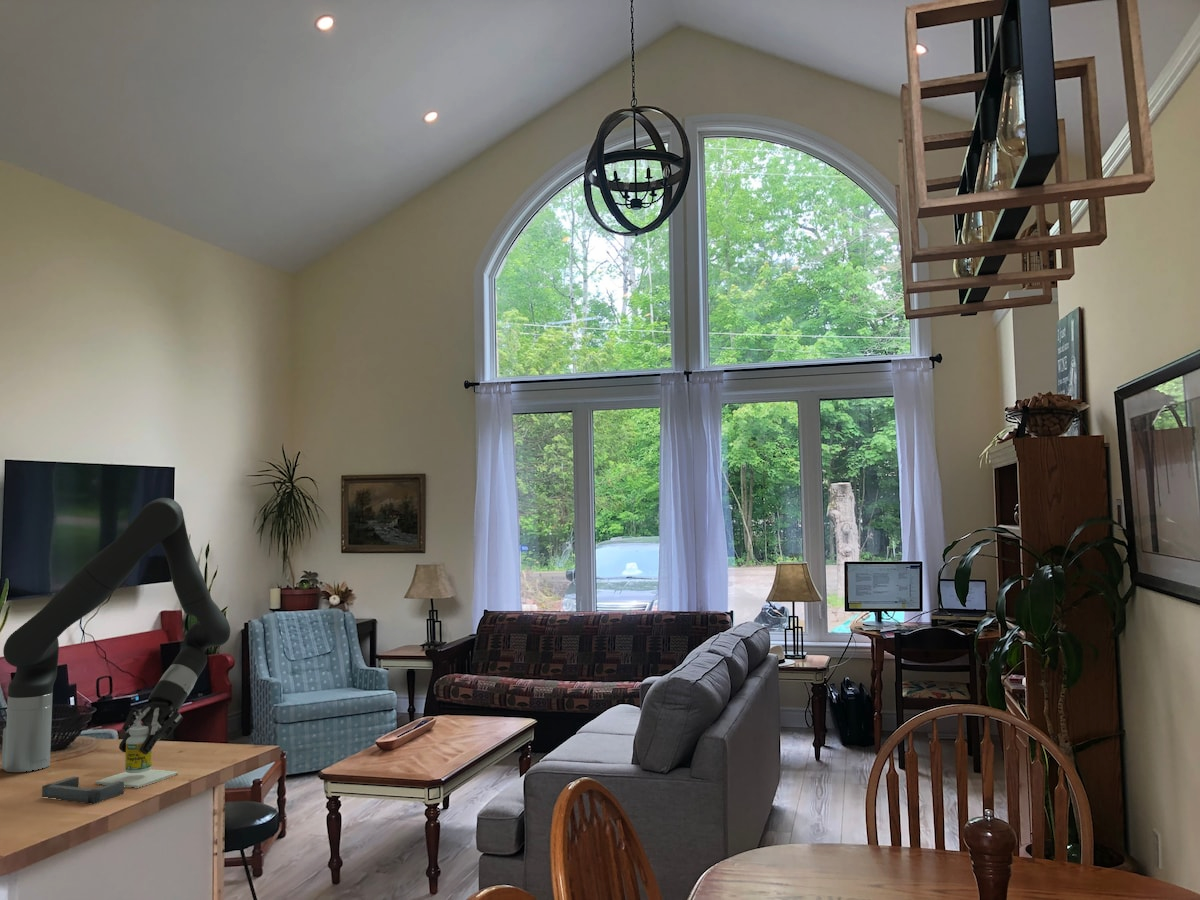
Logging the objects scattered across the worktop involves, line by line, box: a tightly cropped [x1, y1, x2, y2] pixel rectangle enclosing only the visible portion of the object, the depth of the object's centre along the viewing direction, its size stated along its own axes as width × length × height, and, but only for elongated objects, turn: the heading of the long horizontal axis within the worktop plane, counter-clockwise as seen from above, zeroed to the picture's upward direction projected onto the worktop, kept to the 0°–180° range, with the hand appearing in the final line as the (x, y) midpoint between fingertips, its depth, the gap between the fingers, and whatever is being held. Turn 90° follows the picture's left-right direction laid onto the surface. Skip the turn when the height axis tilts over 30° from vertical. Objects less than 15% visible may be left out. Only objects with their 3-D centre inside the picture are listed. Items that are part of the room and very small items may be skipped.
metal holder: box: [41, 776, 125, 805], centre depth 199 cm, size 14×8×2 cm, turn 72°
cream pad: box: [94, 768, 180, 789], centre depth 211 cm, size 12×12×1 cm
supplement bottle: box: [124, 725, 153, 773], centre depth 212 cm, size 5×5×10 cm
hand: (132, 751), depth 210 cm, fingers closed on supplement bottle, 5 cm apart
